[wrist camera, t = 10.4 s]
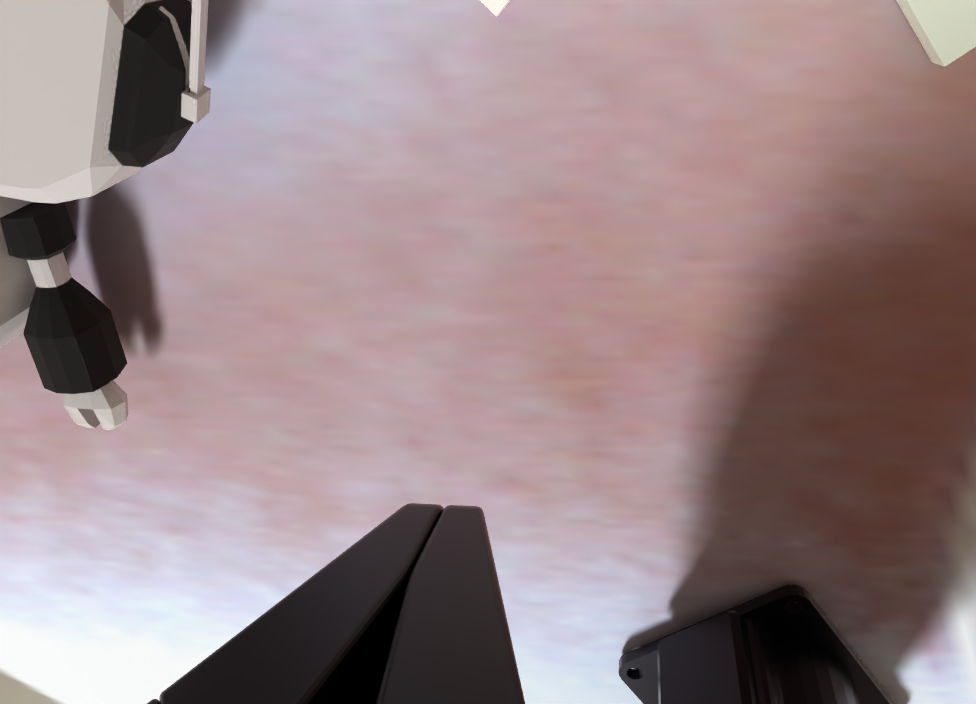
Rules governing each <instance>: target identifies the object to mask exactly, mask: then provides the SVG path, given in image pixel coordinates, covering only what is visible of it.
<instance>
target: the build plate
mask: <svg viewBox="0 0 976 704" xmlns="http://www.w3.org/2000/svg"><path fill="white" fill-rule="evenodd" d="M896 1H897V3H898V4H899V6H900V8H901V10H902V11H903V13H904V15H905V17H906V18H907V20H908V22H909V23H910V25H911V27H912V29H913V30H914V32H915V34H916V36H917V37H918V39H919V41H920V42H921V44H922V46H923V48H924V49H925V51H926V53H927V55H928V56H929V58H930V60H931V62H932V63H935V64H938V65H941V66H944V67H945V66H947V65H948V64H950V63H951V62H953V61H954V60H956V59H957V58H959V57H961V56H962V55H964V54H965V53H967V52H968V51H970V50H971V49H973V48H974V47H976V0H896Z"/></svg>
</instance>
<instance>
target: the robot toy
mask: <svg viewBox="0 0 976 704" xmlns="http://www.w3.org/2000/svg"><path fill="white" fill-rule="evenodd" d="M207 18H208V0H192V4H191V3H190V2H189V1H188V0H0V348H2V347H3V346H5V345H6V344H7V343H9V342H10V341H12V340H13V339H15V338H16V337H18V336H19V335H20V333H21V332H22V330H23V329H24V327H25V329H24V336H25V339H26V341H27V344H28V347H29V349H30V352H31V354H32V357H33V360H34V362H35V365H36V368H37V370H38V373H39V375H40V378H41V381H42V383H43V386H44V388H45V389H48V390H50V391H53V392H55V393H65V398H64V404H63V406H64V407H65V409H66V410H67V412H68V413H69V415H70V416H71V418H72V419H73V421H74V422H75V423H76V424H79V425H81V426H84V427H86V428H96V427H97V426H98V425H99V424H100V423H101V425H102V427H103V429H108V430H113V429H115V428H117V427H119V426H120V425H121V424H123V423H124V422H125V421H126V420H127V416H128V404H127V394H126V393H125V392H124V391H123V390H122V389H121V388H120V387H119V386H118V385H117V384H116V383H115V382H114V381H113V380H114V379H115V378H117V377H118V375H119V374H120V373H121V371H122V370H123V368H124V367H125V366H126V364H127V361H126V358H125V354H124V351H123V348H122V345H121V342H120V339H119V335H118V332H117V329H116V326H115V323H114V320H113V316H112V313H111V310H110V309H109V308H108V307H106V306H105V305H104V304H103V303H102V302H101V301H100V300H99V299H97V298H96V297H95V296H94V295H93V294H92V293H91V292H90V291H88V290H87V289H86V288H85V287H83V286H82V285H81V284H79V283H78V282H77V281H76V280H74V279H73V278H72V277H71V274H70V271H69V268H68V265H67V262H66V260H65V257H64V254H63V251H64V250H65V249H66V248H68V247H69V246H70V245H71V244H72V243H73V241H74V240H75V239H76V236H75V233H74V230H73V227H72V224H71V220H70V217H69V214H68V211H67V208H66V205H65V202H66V201H71V200H76V199H81V198H86V197H91V196H94V195H96V194H98V193H100V192H101V191H103V190H105V189H107V188H109V187H111V186H113V185H115V184H117V183H119V182H120V181H122V180H124V179H126V178H128V177H130V176H132V175H134V174H136V173H138V172H139V171H140V170H141V168H142V167H144V166H146V165H148V164H150V163H152V162H154V161H156V160H158V159H160V158H162V157H164V156H165V155H167V154H169V153H171V152H173V151H174V150H175V149H176V147H177V146H178V144H179V143H180V142H181V140H182V139H183V137H184V136H185V134H186V133H187V132H188V130H189V129H190V127H191V126H192V124H193V122H194V123H198V122H199V121H200V120H201V119H202V118H203V117H204V116H205V115H207V114H208V113H209V107H210V90H211V89H210V88H208V87H205V86H204V76H205V57H206V37H207Z"/></svg>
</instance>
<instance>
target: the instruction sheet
mask: <svg viewBox="0 0 976 704" xmlns="http://www.w3.org/2000/svg"><path fill="white" fill-rule="evenodd" d="M480 1H481V2H482V3H483V4H484V5H485V6H486V7H487V8H488V9H489V10H490V11H491V12H492V13H493V14H494V15H495V16H498V15H499V14H500V13H501V12H502V10H503V9H504V8H505V7H506V5H507V4H508V3H509V2H510V0H480Z"/></svg>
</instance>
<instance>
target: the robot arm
mask: <svg viewBox="0 0 976 704" xmlns="http://www.w3.org/2000/svg"><path fill="white" fill-rule="evenodd" d="M791 601H797V602H798V603H797V604H793V605H790V604H787V603H788V602H791ZM631 668H638V669H637V670H634V669H631ZM619 676H620V677H621V679H622V680H623V681H624V682H625V684H626V685H627V686H628V687H629V688H630V689H631V690H632V691H633V692H634V694H635V695H636V696H637V697H638V698H639V699H640V700H641V701H642V702H643V704H894V702H893V701H892V700H891V699H890V697H889V696H888V695H887V693H886V692H885V691H884V690H883V688H882V687H881V686H880V684H879V683H878V682H877V681H876V679H875V678H874V677H873V675H872V674H871V673H870V672H869V670H868V669H867V668H866V666H865V665H864V664H863V663H862V661H861V660H860V659H859V657H858V656H857V655H856V654H855V652H854V651H853V650H852V648H851V647H850V646H849V644H848V643H847V642H846V641H845V639H844V638H843V637H842V635H841V634H840V633H839V632H838V630H837V629H836V628H835V626H834V625H833V624H832V623H831V621H830V620H829V619H828V617H827V616H826V615H825V614H824V612H823V611H822V610H821V608H820V607H819V606H818V605H817V603H816V602H815V601H814V599H813V598H812V597H811V596H810V594H809V593H808V592H807V591H806V590H805V589H804V588H803V587H800V586H797V585H787V586H783V587H781V588H778V589H776V590H774V591H771V592H769V593H766V594H764V595H762V596H759V597H757V598H755V599H752V600H750V601H748V602H745V603H743V604H741V605H738V606H736V607H734V608H731V609H729V610H727V611H724V612H722V613H720V614H717V615H715V616H713V617H710V618H708V619H706V620H703V621H701V622H699V623H696V624H694V625H692V626H689V627H687V628H685V629H682V630H680V631H678V632H675V633H673V634H671V635H668V636H666V637H664V638H661V639H659V640H657V641H654V642H652V643H650V644H647V645H645V646H643V647H640V648H638V649H636V650H633V651H631V652H629V653H626V654H625V655H623V656H622V657H621V658H620V660H619ZM147 704H525V701H524V696H523V692H522V687H521V683H520V678H519V674H518V669H517V664H516V660H515V655H514V651H513V646H512V641H511V637H510V632H509V628H508V623H507V618H506V614H505V609H504V605H503V600H502V595H501V591H500V586H499V582H498V577H497V572H496V568H495V563H494V559H493V554H492V550H491V545H490V540H489V536H488V531H487V527H486V522H485V517H484V513H483V510H482V509H481V508H480V507H477V506H457V505H450V506H447V507H445V508H443V507H442V506H440V505H436V504H416V503H410V504H407V505H405V506H403V507H402V508H400V509H399V510H398V511H396V512H395V513H394V514H393V515H391V516H390V517H389V518H387V519H386V520H385V521H384V522H382V523H381V524H380V525H378V526H377V527H376V528H374V529H373V530H372V531H371V532H369V533H368V534H367V535H365V536H364V537H363V538H361V539H360V540H359V541H358V542H356V543H355V544H354V545H352V546H351V547H350V548H349V549H347V550H346V551H345V552H343V553H342V554H341V555H339V556H338V557H337V558H336V559H334V560H333V561H332V562H330V563H329V564H328V565H327V566H325V567H324V568H323V569H321V570H320V571H319V572H317V573H316V574H315V575H314V576H312V577H311V578H310V579H308V580H307V581H306V582H304V583H303V584H302V585H301V586H299V587H298V588H297V589H295V590H294V591H293V592H292V593H290V594H289V595H288V596H286V597H285V598H284V599H282V600H281V601H280V602H279V603H277V604H276V605H275V606H273V607H272V608H271V609H270V610H268V611H267V612H266V613H264V614H263V615H262V616H260V617H259V618H258V619H257V620H255V621H254V622H253V623H251V624H250V625H249V626H247V627H246V628H245V629H244V630H242V631H241V632H240V633H238V634H237V635H236V636H235V637H233V638H232V639H231V640H229V641H228V642H227V643H225V644H224V645H223V646H222V647H220V648H219V649H218V650H216V651H215V652H214V653H213V654H211V655H210V656H209V657H207V658H206V659H205V660H203V661H202V662H201V663H200V664H198V665H197V666H196V667H194V668H193V669H192V670H190V671H189V672H188V673H187V674H185V675H184V676H183V677H181V678H180V679H179V680H178V681H176V682H175V683H174V684H172V685H171V686H170V687H168V688H167V689H166V690H165V691H163V692H162V693H161V695H160V701H159V700H157V699H153V700H151V701H150V702H149V703H147Z"/></svg>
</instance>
